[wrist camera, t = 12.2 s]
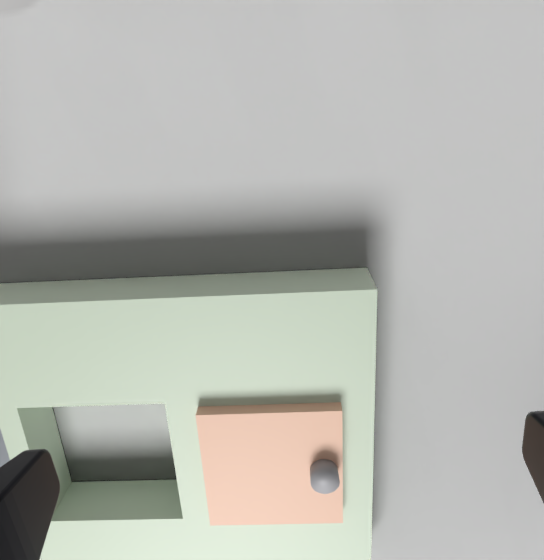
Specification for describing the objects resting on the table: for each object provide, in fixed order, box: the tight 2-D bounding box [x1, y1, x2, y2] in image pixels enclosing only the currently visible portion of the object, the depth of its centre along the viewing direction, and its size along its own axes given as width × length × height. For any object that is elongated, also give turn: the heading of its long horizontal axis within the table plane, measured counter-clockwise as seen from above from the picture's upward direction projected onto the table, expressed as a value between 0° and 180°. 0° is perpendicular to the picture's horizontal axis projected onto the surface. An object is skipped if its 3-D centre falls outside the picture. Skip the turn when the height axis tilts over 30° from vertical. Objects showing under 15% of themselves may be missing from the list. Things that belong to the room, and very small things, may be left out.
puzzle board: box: [0, 268, 377, 560], centre depth 22 cm, size 16×16×4 cm
